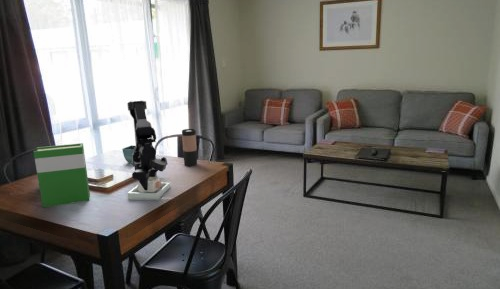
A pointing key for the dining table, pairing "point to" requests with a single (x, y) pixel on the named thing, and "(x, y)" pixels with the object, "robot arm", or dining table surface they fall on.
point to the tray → (148, 196)
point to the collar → (151, 185)
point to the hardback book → (62, 174)
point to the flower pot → (128, 153)
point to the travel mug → (189, 147)
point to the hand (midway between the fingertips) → (149, 187)
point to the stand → (162, 179)
